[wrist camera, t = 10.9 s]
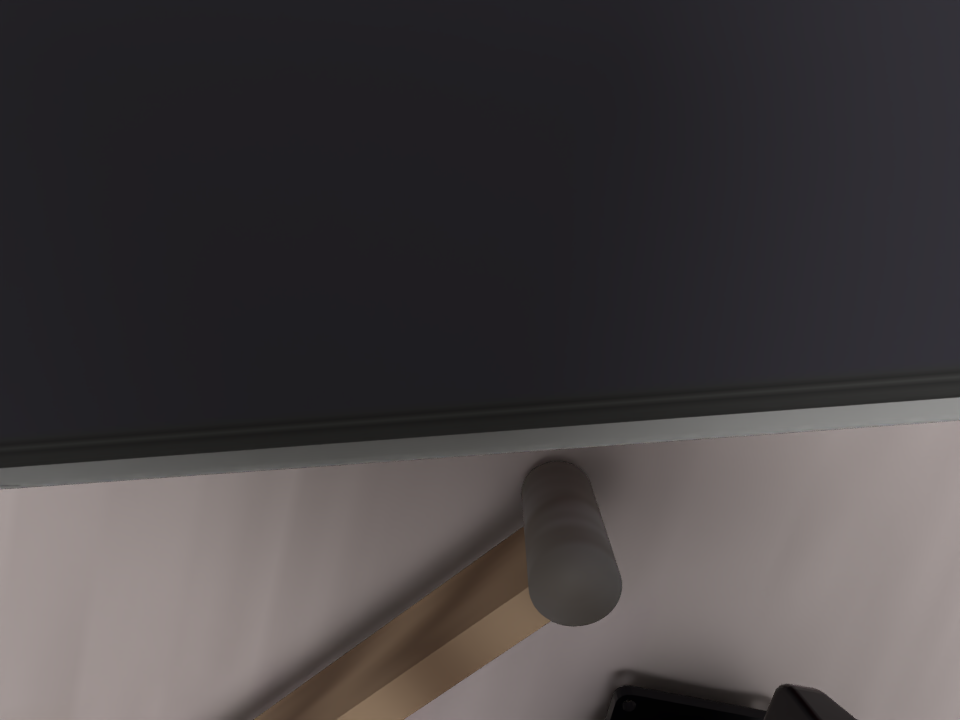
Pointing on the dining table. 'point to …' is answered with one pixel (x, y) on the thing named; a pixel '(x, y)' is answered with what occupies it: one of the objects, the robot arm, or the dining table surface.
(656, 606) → the dining table surface
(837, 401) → the calculator
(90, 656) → the dining table surface
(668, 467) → the dining table surface
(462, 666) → the bar
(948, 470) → the dining table surface
